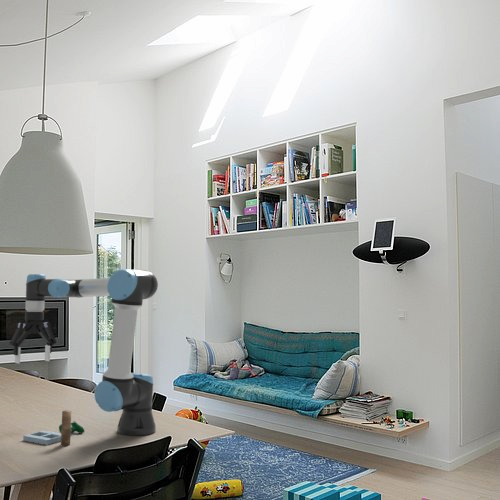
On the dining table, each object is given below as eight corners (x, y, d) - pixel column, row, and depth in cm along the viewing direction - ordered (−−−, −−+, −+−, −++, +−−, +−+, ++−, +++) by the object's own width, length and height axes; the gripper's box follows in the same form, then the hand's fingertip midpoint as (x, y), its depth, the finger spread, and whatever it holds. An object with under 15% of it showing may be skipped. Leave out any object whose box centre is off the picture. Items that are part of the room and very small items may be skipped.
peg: (71, 444, 225) (73, 411, 226) (65, 446, 222) (66, 412, 223) (65, 443, 226) (66, 410, 227) (58, 445, 224) (60, 411, 224)
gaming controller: (81, 436, 243) (75, 424, 246) (85, 430, 242) (79, 418, 245) (61, 440, 236) (55, 427, 239) (65, 434, 235) (59, 421, 238)
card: (83, 432, 243) (83, 432, 243) (65, 437, 235) (65, 437, 235) (74, 430, 246) (74, 430, 246) (56, 435, 237) (57, 435, 237)
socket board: (67, 439, 232) (67, 434, 232) (46, 445, 223) (47, 440, 223) (43, 435, 237) (43, 430, 237) (23, 440, 229) (23, 435, 229)
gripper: (56, 310, 271) (54, 359, 270) (1, 311, 252) (-1, 363, 251) (65, 310, 266) (63, 360, 265) (11, 311, 247) (9, 365, 246)
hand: (32, 362), depth 258 cm, fingers open, 13 cm apart
